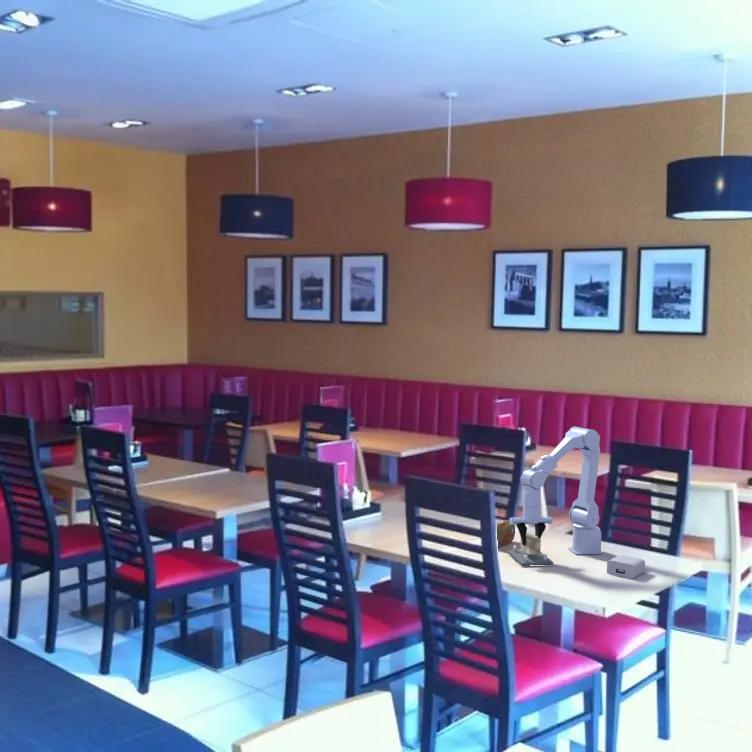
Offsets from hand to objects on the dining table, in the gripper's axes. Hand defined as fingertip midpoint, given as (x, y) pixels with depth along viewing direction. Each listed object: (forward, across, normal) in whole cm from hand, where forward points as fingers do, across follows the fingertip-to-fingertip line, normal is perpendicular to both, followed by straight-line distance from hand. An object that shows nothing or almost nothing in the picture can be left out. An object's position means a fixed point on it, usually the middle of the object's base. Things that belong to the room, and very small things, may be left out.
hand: (530, 544), depth 315 cm
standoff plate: (+5, 0, 0) cm, 5 cm away
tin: (+5, -4, +20) cm, 21 cm away
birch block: (+2, 0, 0) cm, 2 cm away
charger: (+6, +29, -16) cm, 33 cm away
